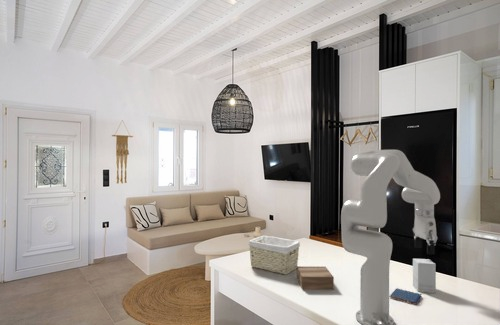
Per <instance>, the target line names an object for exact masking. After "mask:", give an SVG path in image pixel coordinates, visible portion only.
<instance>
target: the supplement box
mask: <svg viewBox="0 0 500 325" xmlns="http://www.w3.org/2000/svg"><path fill="white" fill-rule="evenodd" d="M436 266H437V265H436V263H435V262H433V261H432V260H431V259H429V258H427V259H426V258H412V286H413V287H414V289H415V290H416V291H417V292H420V293H433V294H434V293H436V288H437V286H436V285H437V282H436V278H437V277H436V276H437V275H436V273H437V272H436Z"/></svg>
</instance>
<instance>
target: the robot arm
mask: <svg viewBox="0 0 500 325" xmlns="http://www.w3.org/2000/svg"><path fill="white" fill-rule="evenodd" d="M350 168H351V172H353V174H354V175H356V176H365V177H366V178H365V179H364V181H363V182H362V184H361V187H360V199H352V198H351V199H348V200H346V201H345V202H344V204H342V208H341V214H340V224H341V228H340V229H341V243H342V247H343V249H344V250H345V251H346V252H347V253H350V254H353V255H358V256H361V257H365V258H366V260H365V262H364V263H363V264H362V265H361V267H360V272H359V273H360V287H359V288H360V293H359V294H360V308H359V310H358V311H357V312H356V313H355V319H356V320H357V322H358V323H359V324H361V325H395V320H394V318H393V317H392V315H390V297H389V296H390V263H391V256H392V252H393V241H392V239H391V237H390V236H388V234H387V233H386V234H385V233H384V232H380V231H375V230H370V229H371V228H372V229H382V228H384V227H385V226H386V224H387V220H388V209H387V208H388V206H387V205H388V204H387V196H388V194H387V190H388V186H389V184H390V183H391V180H392V179H393V180H394V182H395V183H396V184H397V185H399V186H401V187H403V188H402V191H401V198H402V200H403V201H405V202H407V203H409V204H414V224H413V228H412V232H413V233H412V235H413V239H414V248H415V249H421V248H423V240H426V243H427V245H426V254H427V255H436V244H437V240H438V236H437V227H436V226H437V224H436V219H435V205H436V204H438V203H439V201H440V199H441V192H440V189H439V188H438V186H437V183H436V182H435V181H434V180H433V179H432V178H431V177H429V176H427V175H425V174H423V173H421V172H419V171H417V170H415V169H414V168H413V166H412V164H411V162H410V161H409V159H408V158H407V156H406V154H405V153H404V152H403V151H401V150H399V149H376V150H370V151H365V152H360V153H359V152H358V153H357V154H355V155H354V156H353V157H352V158H351V161H350ZM360 227H365V228H370V229H364V228H363V229H362V228H360Z"/></svg>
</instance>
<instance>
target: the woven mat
mask: <svg viewBox="0 0 500 325" xmlns="http://www.w3.org/2000/svg"><path fill="white" fill-rule="evenodd" d="M422 298H423V297H422V294H421V293H418V292H414V291H410V290H406V289H402V288H398V287H397V288H395V289H394V291H392V292H391V294H390V295H389V300H391V299H393V300H395V301H399V302H400V301H401V302H402V303H403V302H404V303H407V304H410V305H412V304H413V306H416V305H418V303H419V302H420V300H421V299H422Z"/></svg>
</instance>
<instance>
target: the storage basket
mask: <svg viewBox="0 0 500 325" xmlns="http://www.w3.org/2000/svg"><path fill="white" fill-rule="evenodd" d="M300 244H301V243H300V241H298V240H294V239H288V238H282V237H277V236H270V235H260V236H257V237H255V238H251V239H250V240H249V241H248V246H249V253H250V254H249V257H250V266H251V268H252V267H253V268H256V269H260V270H265V271H269V272H271V273H277V274H282V275H288V274H290V273H292V271H294V270H297V266H298V264H299V262H298V260H299V256H300V255H299V250H300V247H301V245H300Z"/></svg>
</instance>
